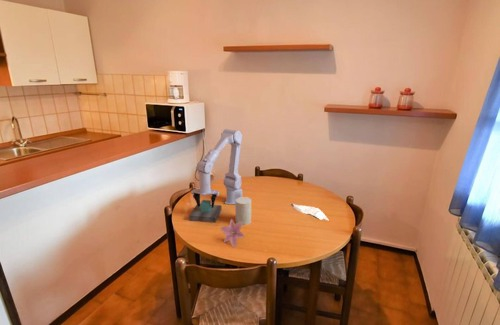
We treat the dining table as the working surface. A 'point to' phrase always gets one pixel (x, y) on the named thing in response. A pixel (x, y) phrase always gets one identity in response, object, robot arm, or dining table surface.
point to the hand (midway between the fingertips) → (205, 206)
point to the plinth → (205, 214)
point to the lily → (233, 232)
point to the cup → (243, 210)
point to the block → (205, 205)
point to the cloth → (310, 211)
